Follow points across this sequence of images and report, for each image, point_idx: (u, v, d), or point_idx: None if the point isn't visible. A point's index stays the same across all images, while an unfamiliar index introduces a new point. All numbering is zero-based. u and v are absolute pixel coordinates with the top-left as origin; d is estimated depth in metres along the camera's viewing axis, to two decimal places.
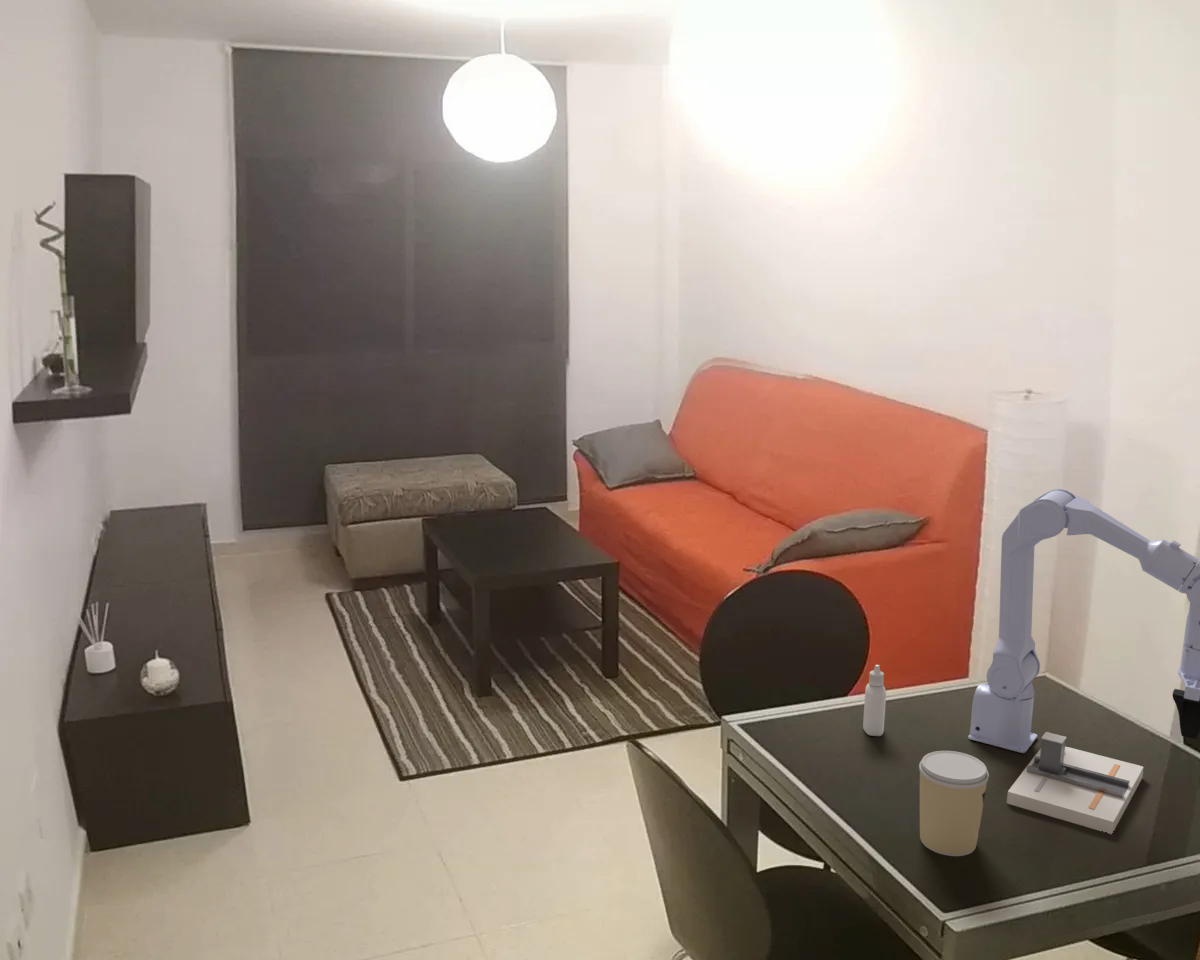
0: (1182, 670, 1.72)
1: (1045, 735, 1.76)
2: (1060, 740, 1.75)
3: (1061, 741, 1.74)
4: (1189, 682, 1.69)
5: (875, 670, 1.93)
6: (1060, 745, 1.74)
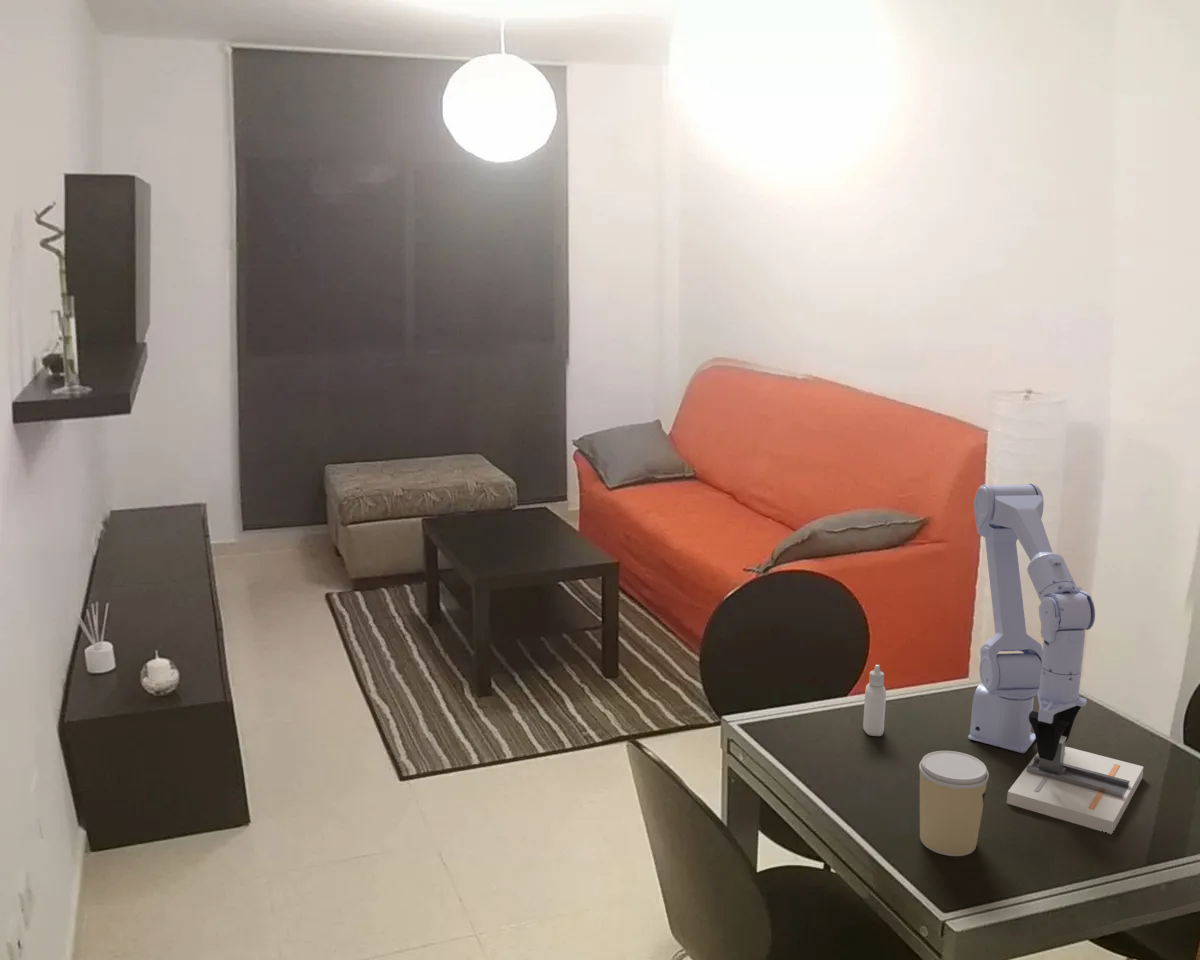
0: (1040, 692, 1.74)
1: None
2: (1060, 740, 1.75)
3: (1061, 741, 1.74)
4: (1044, 704, 1.71)
5: (875, 670, 1.93)
6: (1060, 745, 1.74)
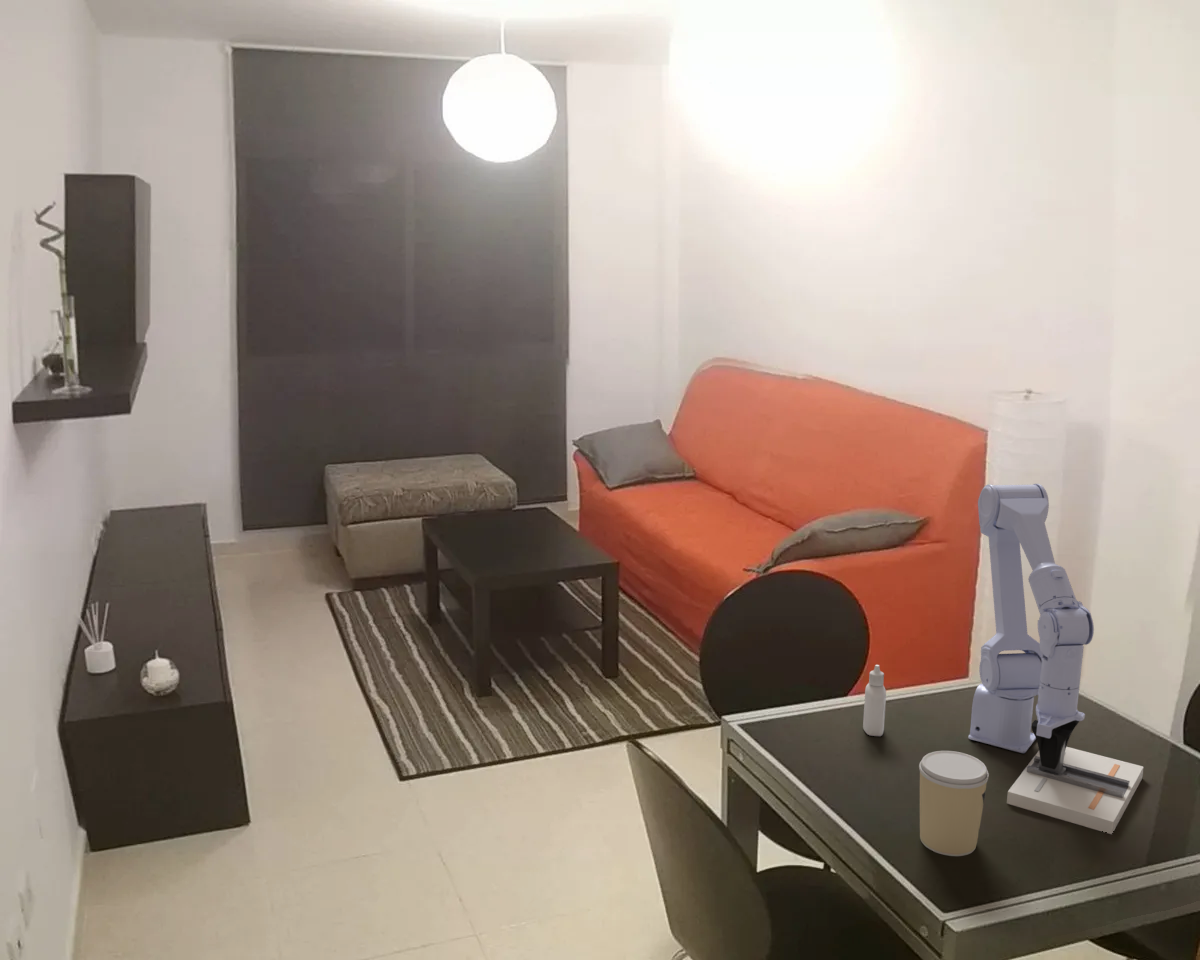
0: (1038, 707, 1.75)
1: None
2: None
3: None
4: (1042, 719, 1.71)
5: (875, 670, 1.93)
6: None
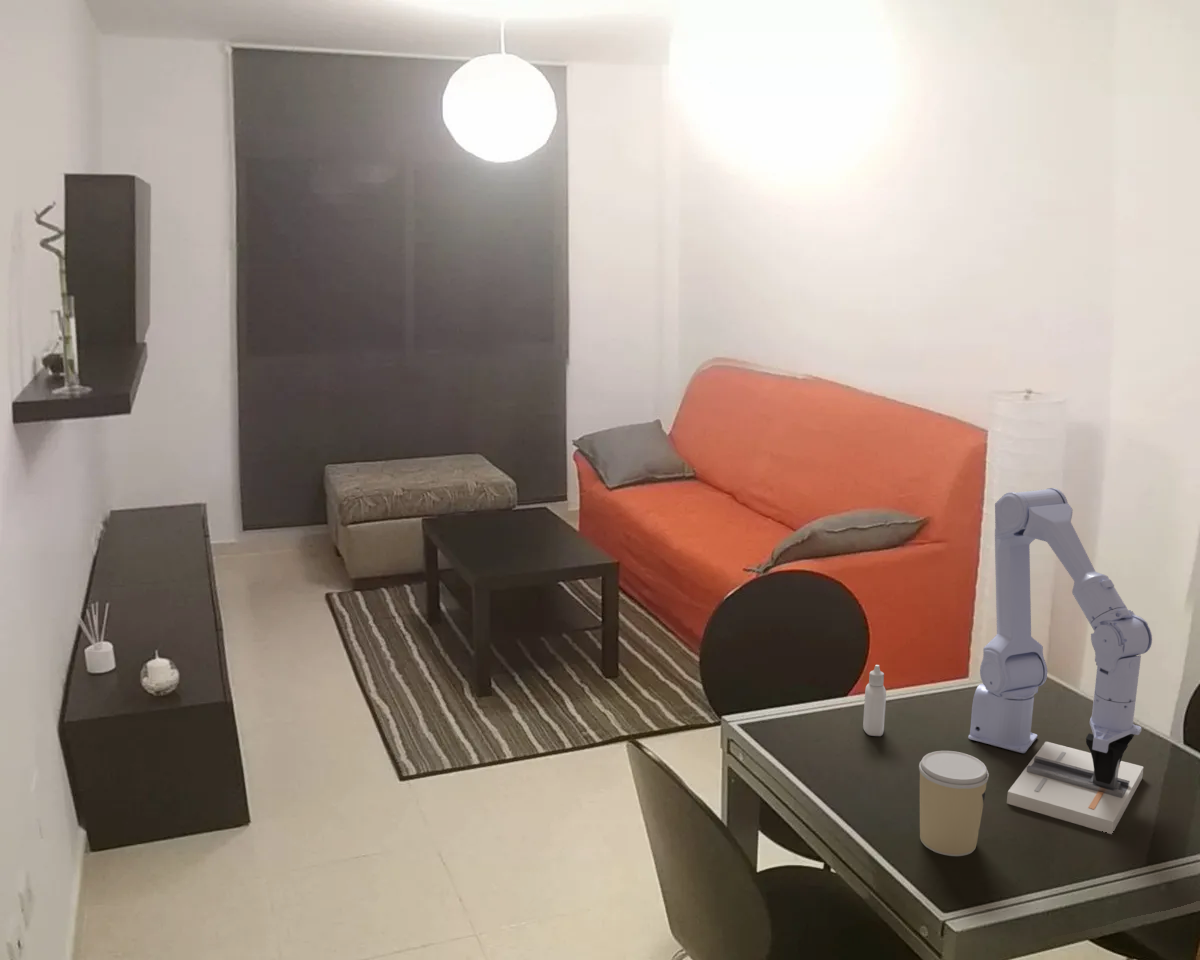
0: (1093, 720, 1.70)
1: None
2: None
3: None
4: (1098, 733, 1.67)
5: (875, 670, 1.93)
6: None
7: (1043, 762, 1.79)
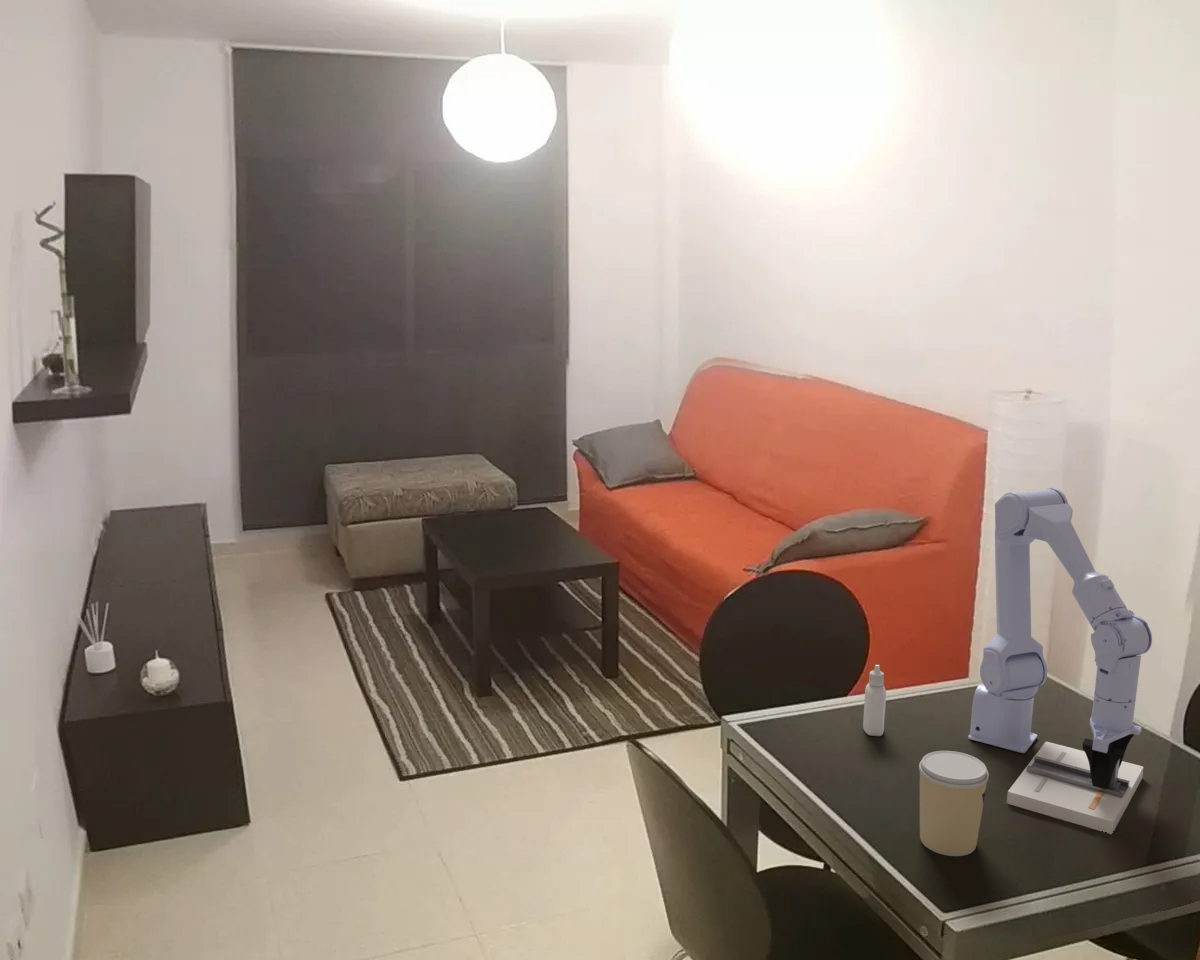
0: (1093, 720, 1.70)
1: None
2: None
3: None
4: (1098, 733, 1.67)
5: (875, 670, 1.93)
6: None
7: (1043, 762, 1.79)
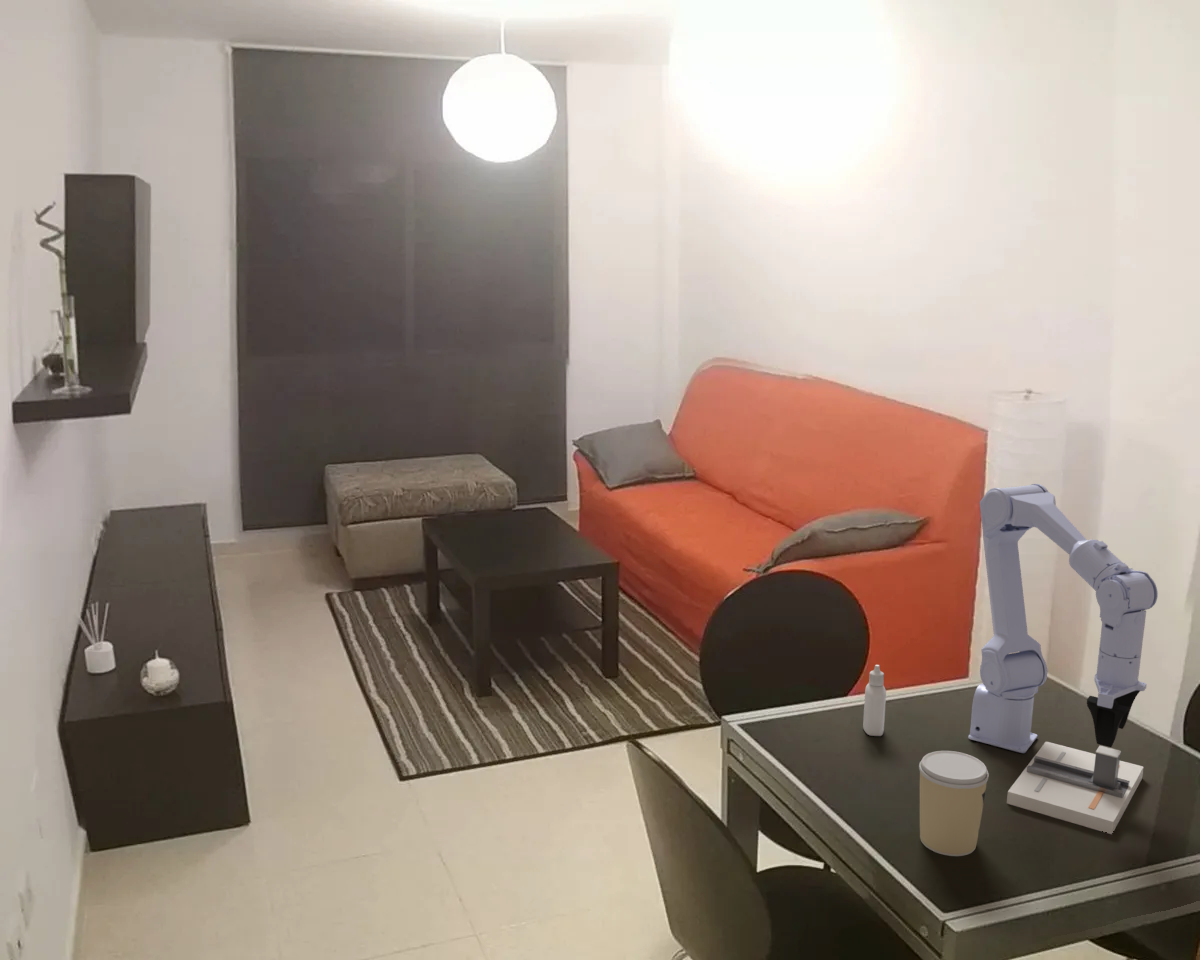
0: (1098, 676, 1.68)
1: (1099, 749, 1.72)
2: (1115, 754, 1.70)
3: (1116, 755, 1.70)
4: (1103, 689, 1.65)
5: (875, 670, 1.93)
6: (1115, 759, 1.70)
7: (1043, 762, 1.79)
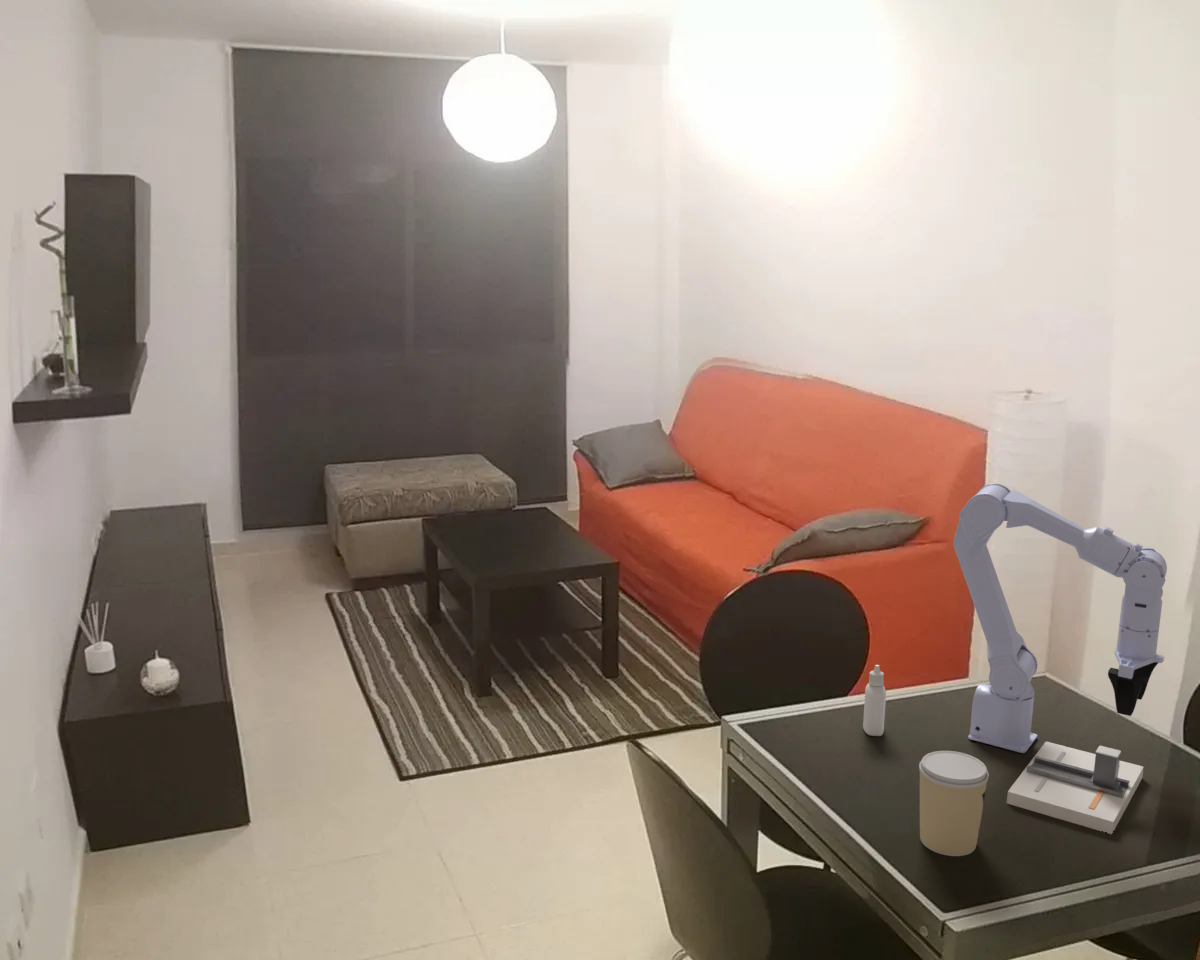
0: (1118, 650, 1.79)
1: (1099, 749, 1.72)
2: (1115, 754, 1.70)
3: (1116, 755, 1.70)
4: (1123, 661, 1.76)
5: (875, 670, 1.93)
6: (1115, 759, 1.70)
7: (1043, 762, 1.79)
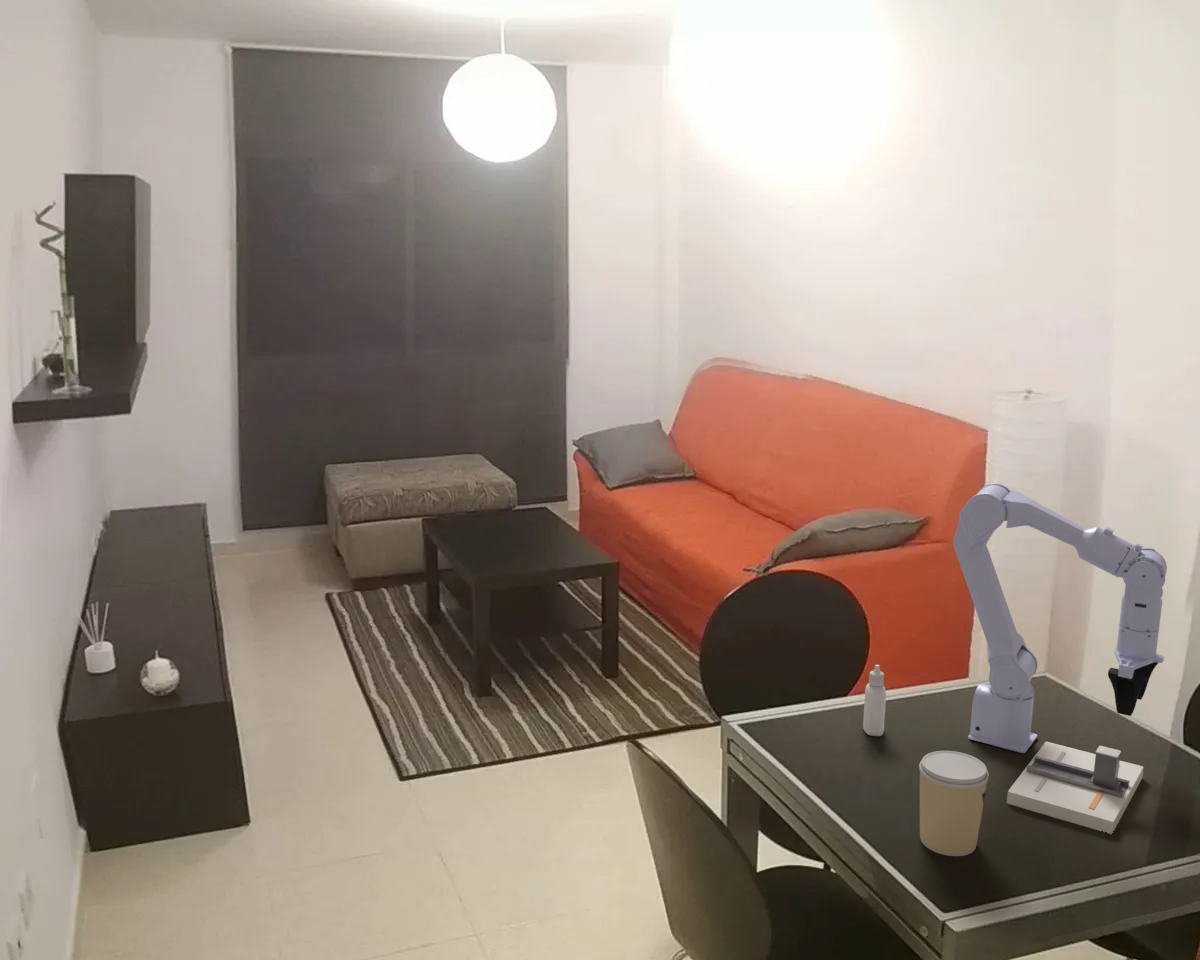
0: (1118, 650, 1.79)
1: (1099, 749, 1.72)
2: (1115, 754, 1.70)
3: (1116, 755, 1.70)
4: (1123, 661, 1.76)
5: (875, 670, 1.93)
6: (1115, 759, 1.70)
7: (1043, 762, 1.79)
